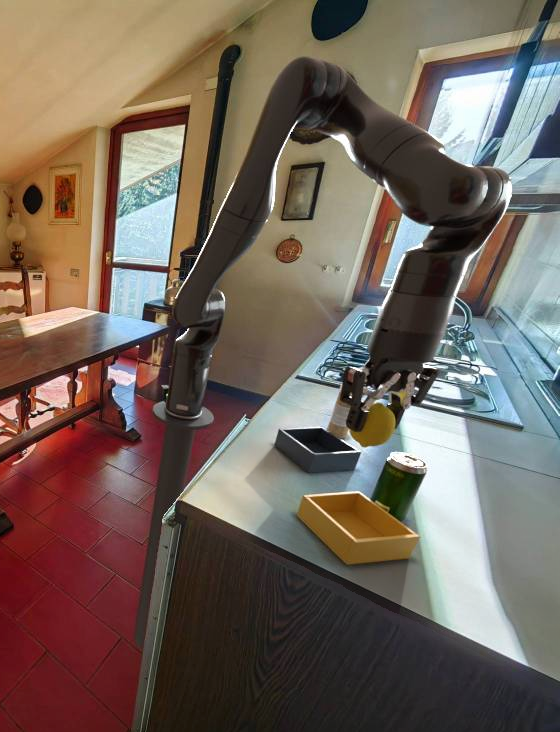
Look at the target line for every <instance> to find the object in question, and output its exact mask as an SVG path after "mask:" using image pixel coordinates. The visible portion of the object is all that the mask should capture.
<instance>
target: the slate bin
mask: <svg viewBox="0 0 560 732" xmlns="http://www.w3.org/2000/svg"><path fill="white" fill-rule="evenodd" d="M326 429H327V428H324V427H323V426H308V427H287V428H278V430H277V434H276V437H275V441H274V444H273V446H274V447H275V448H277V449H278V450H279V451H281V453H283V454H284V455H285V456H287V457H288V458H289V459H290V460H291V461H293V462H294V463H295V464H296V465H298V466H299V467H300V468H301V469H303V470H304V471H305V472H307V474H312V473H327V472H340V471H341V472H342V471H343V472H344V471H355V470H356V468H357V465H358V462H359V460H360V457H361V454H362V451H360V450H359V449H358V448H356V447H355V446H353V445H351V444H350V443H348V442H347V441H345V440H343V438H339V437H337V436H335V435H334V434H332V433H331V432H329V431H328V430H326Z"/></svg>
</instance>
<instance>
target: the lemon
mask: <svg viewBox="0 0 560 732" xmlns="http://www.w3.org/2000/svg"><path fill="white" fill-rule="evenodd" d="M386 406H387V405H384V403H383V402H380V401H377V402H374V403H373V404H372V406H371V407H370V408H369V409H368V410H367V411H368V415H367V418H366V420H365V423H364V426H363V429H362V431H361V432H354V431H353V430H351V429H349V430H348V432H349V435H350V436H351V438H352V439H353V440H354V441H355V442H356V443H358V444H359V445H360V446H361V447H362V448H364V449H365V448H368V447H369V448H370V447H379V446H382V445H384V444H385V443H387V442H388V441H389V440H390V439H391V438H392V437H393V435H394V434H395V433H394V432H395V431H396V429H395V416H394V414H393V412H392V411H391V410H390V409H389V408H387V407H386Z"/></svg>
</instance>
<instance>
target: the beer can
mask: <svg viewBox="0 0 560 732" xmlns="http://www.w3.org/2000/svg"><path fill="white" fill-rule="evenodd" d="M428 466H429V465H428V463H427V462H426V461H425V460H423V459H422V458H420V457H418V456H415V455H413V454H409V453H406V452H401V451H394V452H391V453H390V455H389V456H387V457H386V460H385V462H384V464H383V467H382V470H381V472H380V474H379V476H378V479H377V482H376V484H375V486H374V488H373V491H372V494H371V496H370V498H369V499H370V500H372V501H373V502H374V503H376V504H377V505H378V506H380V507H381V508H382V509H384V510H385V511H386V512H388V513H389V514H390V515H392V516H393V517H394V518H396V519H397V520H398V521H400V522H401V523H403V521H405V520H406V517H407V515H408V513H409V511H410V509H411V507H412V505H413V502H414V500H415V498H416V497H417V494H418V492H419V490H420V487H421V485H422V484H423V481H424V479H425V477H426V475H427V473H428V469H427V468H428Z"/></svg>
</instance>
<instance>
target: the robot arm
mask: <svg viewBox="0 0 560 732" xmlns="http://www.w3.org/2000/svg"><path fill="white" fill-rule="evenodd" d="M293 129H299V130H311V131H314V132H317V133H321V134H323V135H325V136H328V137H330V138H331V139H334V140H335V141H337V142H338V143H339V144H340V145H341V146H342V147H343V148H344V150H345V152H346V154H347V157H348V158H349V160H350V161H351V163H352V164H354V166H355V167H356V168H357V169H358V170H359V171H361V172H362V173H363V174H364V175H366V176H367V177H369V178H370V179H371V180H372V181H374V183H376V184H377V185H378V186H380V187H382V188H383V189H384V190H386V193H387V194H388V195H389V197H390V198H391V200H392V201H393V203H394V204H395V206H396V207H397V208H398V209H399V211H400V212H401V213H402V214H403V215H404V216H406V217H407V218H408V219H409V220H411V221H413V222H414V223H416V224H418V225H422V226H424V227H428V228H429V227H430V229H429V231H428V233H426V236H425V237H424V240H423V241H422V242H421V243H420V244H419V245H418V246H415V247H412V248H410V249H408V250H406V251H405V252H404V253H403V254H402V256H400V259H399V261H398V263H397V266H396V269H395V272H394V275H393V278H392V281H391V284H390V287H389V290H388V292H387V294H386V296H385V297H384V300H383V302H382V303H381V305H380V309H379V311H378V314H377V316H376V320H375V322H374V326H373V329H372V332H371V335H370V337H369V341H368V344H367V347H366V350H367V352H368V354H369V358H368V360H367V361H366V362H365V364H364V365H363V366H360V367H352V366H346V367H345V368H344V371H343V376H342V377H343V378H342V383H341V384H342V389H341V396H340V401H341V402H343V403H346V404H348V405H350V410H349V413H348V416H347V419H346V426H347V427H348V428H349V429H351V430H353V431H354V432H361V431H362V429H363V426H364V423H365V420H366V418H367V415H368V411H367V410H368V409H369V408H370V407H371V406H372V404H373V403H376V401H379V400H381V399H382V398H383V397H384V396H385V394H386V393H388V402H389V403H387V404H386V405H385V406H386V407H387V408H389V409H390V410H391V411H392V412H393V414H394V416H395V430H397V429H398V426H399V425H400V424H401V421H402V419H403V417H404V414H405V412H406V410H408V409H410V408H411V407H412V405H416V406H420V405H421V404H422V403H423V402H424V400H425V398H426V397H427V395H428V393H429V392H430V390H431V388H432V386H433V385H434V383H435V381H436V380H437V378H438V376H439V375H440V372H441V371H440V369H439V368H435V367H433V366H430V365H427V363H431V362H432V361H433V360H434V358H435V356H436V353H437V351H438V348H439V346H440V344H441V341H442V340H443V337H444V334H445V332H446V329H447V327H448V324H449V322H450V320H451V318H452V316H453V311H454V309H455V303H456V302H455V301H456V299H457V296H458V294H459V292H460V289H461V287H462V285H463V282H464V279H465V277H466V275H467V272H468V269H469V265H470V264H471V262H472V261H473V259H474V258H475V257H476V255H477V254H478V253H479V252H480V250H481V249H482V248H483V246H484V244H486V242H487V241H488V239H489V237H490V236H491V234H493V232H494V230H495V229H496V228H497V226H498V224H499V223H500V222H501V220H502V218H503V217H504V215H505V214H506V211H507V209H508V207H509V205H510V201H511V198H512V193H513V181H512V179H511V177H510V175H509V174H508V172H506V171H505V170H503V169H501V168H499V167H495V166H483V165H471V164H465V163H463V162H460V161H458V160H456V159H453V158H452V157H450V156H449V155H447V154H446V147H445V145H444V143H443V142H442V141H441V140H440V139H439V138H438V137H436V136H434V135H433V134H431V133H429V132H428V131H426V130H425V129H423V128H422V127H419V126H418V125H416V124H414V123H412V122H411V121H410V120H407V119H405V118H404V117H402V116H400V115H398V114H396V113H394V112H393V111H391V110H390V109H387V108H386V107H384V106H382V105H381V104H379V103H378V102H376V100H374V99H373V98H372V97H370V96H369V95H368V94H367V92H365V91H364V90H363V89H362V87H361V86H360V85H359V84H358V83H357V82H356V81H355V79H354V78H353V77H352V76H351V75H350V74H349V73H348V72H347V71H346V70H345V69H344V68H343V67H342V66H340V65H339V64H335V63H333V62H330V61H326V60H322V59H320V58H315V57H312V56H306V55H303V56H302V55H301V56H298V57H296V58H294V59H292V60H290V61H289V62H288V63H287V64H286V65H285V66H284V68H282V70H281V71H280V73H279V74H278V75H277V77H276V78H275V80H274V81H273V83H272V85H271V87H270V89H269V92H268V94H267V97H266V98H265V101H264V103H263V106H262V109H261V111H260V113H259V118H258V120H257V123H256V125H255V129H254V130H253V134H252V136H251V140H250V142H249V145H248V147H247V150H246V152H245V155H244V157H243V160H242V162H241V164H240V167H239V169H238V171H237V173H236V176H235V178H234V180H233V182H232V185H231V187H230V189H229V191H228V193H227V195H226V198H225V199H224V201H223V203H222V205H221V207H220V209H219V212H218V214H217V216H216V219H215V221H214V223H213V226H212V228H211V230H210V232H209V235H208V236H207V238H206V241H205V243H204V245H203V247H202V248H201V251H200V253H199V255H198V257H197V259H196V261H195V262H194V265H193V267H192V269H191V270H190V272H189V274H188V276H187V277H186V279H185V281H184V282H183V284H182V286H181V287H180V289H179V291H178V292H177V295H176V297H175V299H174V301H173V305H172V317H173V320H174V322H175V324H176V325H177V326H179V327H181V328H184V329H187V331H185V332H184V333H183V334H182V335H181V336H179V337H178V338H177V339H176V340H175V342H174V345H173V351H172V352H173V353H172V359H171V360H172V361H171V365H170V366H171V367H170V374H169V378H168V383H167V384H161V385H160V391H159V393H160V394H161V395H162V398H163V401H164V402H165V403H166V404H165V412H166V413H167V414H168V415H169V416H171V417H173V418H176V419H180V420H196V419H199V418H200V417H201V413H202V407H203V404H204V400H205V395H206V390H207V384H208V378H209V373H210V369H211V364H212V363H211V362H212V356H213V352H214V349H215V347H216V346H217V345H218V342H219V339H220V337H221V332H222V327H223V323H224V319H225V315H226V299H225V296H224V294H223V292H222V291H221V290H219V289H218V288H216V286H217V284H218V283H219V281H220V280H221V278H222V277H223V276H224V275H225V274H226V273H227V272H228V271H229V270H230V269H231V268H232V267H233V266H234V265H235V264H236V263H237V262H238V261H239V260H240V259H241V258H242V257H243V256H244V255H245V254H246V253H248V251H249V250H250V249H251V248H252V247H253V246H254V244H255V243H256V241H257V239H258V237H259V236H260V234H261V232H262V230H263V229H264V227H265V225H266V223H267V222H268V220H269V218H270V216H271V214H272V211H273V209H274V208H273V207H274V203H275V194H276V173H277V172H276V171H277V165H278V161H279V159H280V156H281V154H282V151H283V149H284V147H285V144H286V142H287V140H288V138H289V137H290V134H291V132H293ZM368 387H369V388H371V389H373V390H370V389H368ZM415 389H418V390H417V392H416V394H415ZM351 393H352V397H350V394H351ZM364 396H367V397H366V398H365V399H364V400H362V399H363V398H364Z"/></svg>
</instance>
